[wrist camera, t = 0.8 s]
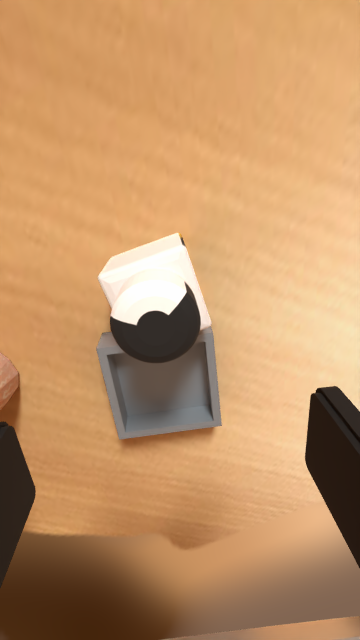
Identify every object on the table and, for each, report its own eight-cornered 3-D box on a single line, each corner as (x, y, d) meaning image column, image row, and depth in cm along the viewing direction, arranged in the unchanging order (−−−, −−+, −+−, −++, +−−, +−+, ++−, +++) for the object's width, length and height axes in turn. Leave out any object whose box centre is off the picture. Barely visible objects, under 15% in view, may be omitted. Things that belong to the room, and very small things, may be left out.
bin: (216, 405, 38) (221, 425, 35) (122, 418, 38) (119, 439, 35) (208, 318, 34) (212, 332, 31) (102, 333, 34) (96, 348, 31)
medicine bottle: (203, 299, 33) (223, 356, 22) (137, 321, 34) (126, 388, 23) (179, 231, 31) (190, 258, 20) (109, 257, 31) (80, 297, 20)
